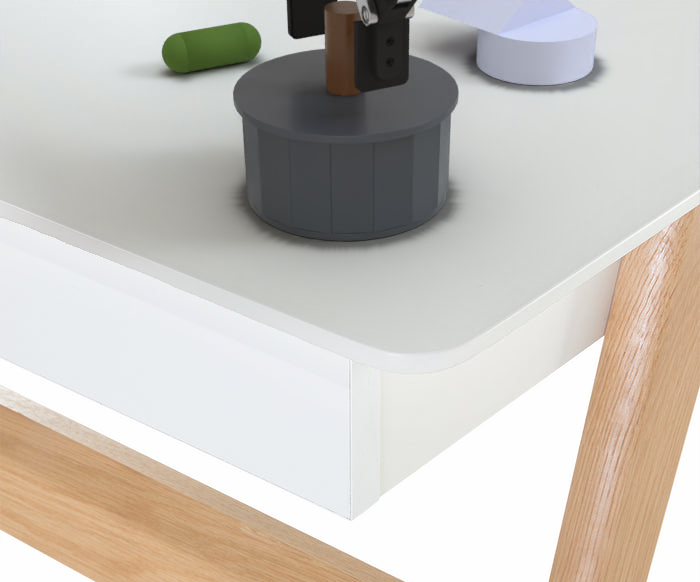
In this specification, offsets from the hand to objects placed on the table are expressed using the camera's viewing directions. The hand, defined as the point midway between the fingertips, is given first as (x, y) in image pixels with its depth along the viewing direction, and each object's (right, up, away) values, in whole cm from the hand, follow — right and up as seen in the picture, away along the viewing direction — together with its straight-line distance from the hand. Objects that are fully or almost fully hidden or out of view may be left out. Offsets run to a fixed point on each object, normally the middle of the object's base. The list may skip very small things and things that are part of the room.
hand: (345, 58), depth 73 cm
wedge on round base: (+13, +6, +24) cm, 28 cm away
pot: (0, -7, +5) cm, 9 cm away
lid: (0, -2, +1) cm, 2 cm away
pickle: (-10, +5, +23) cm, 26 cm away
